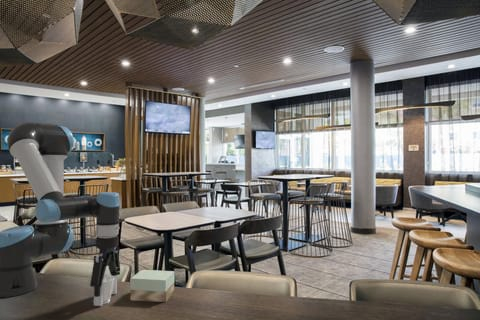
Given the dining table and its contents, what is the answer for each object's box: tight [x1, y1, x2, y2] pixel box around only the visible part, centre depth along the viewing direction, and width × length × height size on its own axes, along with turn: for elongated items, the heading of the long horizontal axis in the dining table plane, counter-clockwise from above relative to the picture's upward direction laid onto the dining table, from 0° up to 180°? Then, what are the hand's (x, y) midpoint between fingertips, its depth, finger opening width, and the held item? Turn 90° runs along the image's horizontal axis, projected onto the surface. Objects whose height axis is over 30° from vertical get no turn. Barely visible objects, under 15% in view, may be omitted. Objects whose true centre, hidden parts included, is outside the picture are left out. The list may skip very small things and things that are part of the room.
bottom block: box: [129, 282, 175, 303], centre depth 120 cm, size 13×10×4 cm
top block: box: [129, 269, 176, 292], centre depth 121 cm, size 13×10×4 cm
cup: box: [101, 274, 114, 305], centre depth 116 cm, size 7×10×8 cm
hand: (105, 299), depth 116 cm, fingers closed on cup, 10 cm apart
